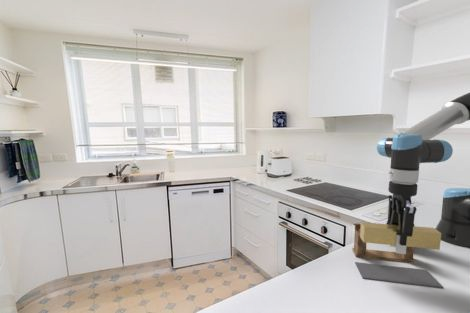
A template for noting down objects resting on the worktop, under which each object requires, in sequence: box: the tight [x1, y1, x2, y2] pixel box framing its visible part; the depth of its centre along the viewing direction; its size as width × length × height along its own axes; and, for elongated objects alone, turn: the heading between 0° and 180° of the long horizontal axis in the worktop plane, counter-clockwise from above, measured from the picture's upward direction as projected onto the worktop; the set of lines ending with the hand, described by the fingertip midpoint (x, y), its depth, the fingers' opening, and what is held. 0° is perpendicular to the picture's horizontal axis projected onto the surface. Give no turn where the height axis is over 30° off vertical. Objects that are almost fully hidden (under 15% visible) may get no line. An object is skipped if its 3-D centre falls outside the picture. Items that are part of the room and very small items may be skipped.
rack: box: [351, 222, 416, 264], centre depth 89 cm, size 20×6×11 cm, turn 77°
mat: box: [354, 261, 444, 289], centre depth 78 cm, size 23×9×1 cm, turn 77°
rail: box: [360, 221, 442, 250], centre depth 77 cm, size 22×4×6 cm, turn 77°
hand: (397, 249), depth 77 cm, fingers closed on rail, 4 cm apart
